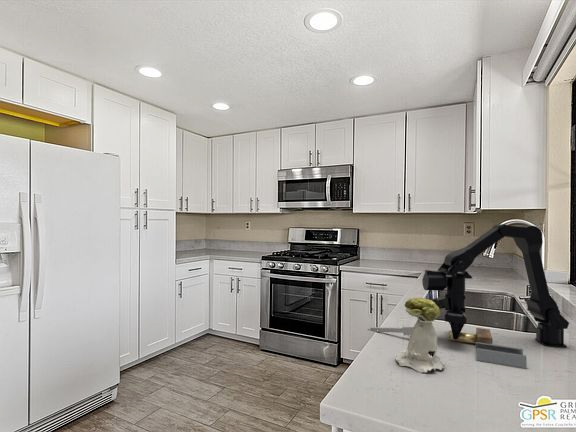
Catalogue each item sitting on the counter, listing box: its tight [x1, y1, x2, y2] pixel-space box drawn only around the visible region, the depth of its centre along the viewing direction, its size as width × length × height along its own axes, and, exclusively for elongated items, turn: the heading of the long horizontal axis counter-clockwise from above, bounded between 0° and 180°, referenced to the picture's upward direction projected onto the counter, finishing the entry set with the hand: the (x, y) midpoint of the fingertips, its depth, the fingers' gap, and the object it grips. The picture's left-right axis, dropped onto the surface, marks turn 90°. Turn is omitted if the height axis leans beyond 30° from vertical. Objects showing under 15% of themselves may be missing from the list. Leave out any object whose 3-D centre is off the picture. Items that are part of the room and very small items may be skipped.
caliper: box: [367, 326, 414, 336], centre depth 120 cm, size 20×1×6 cm, turn 50°
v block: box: [475, 342, 528, 369], centre depth 100 cm, size 12×7×3 cm, turn 64°
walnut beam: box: [475, 327, 494, 344], centre depth 112 cm, size 4×10×4 cm, turn 154°
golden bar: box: [448, 330, 477, 345], centre depth 114 cm, size 10×3×3 cm, turn 64°
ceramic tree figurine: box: [395, 297, 446, 374], centre depth 97 cm, size 12×13×18 cm
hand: (455, 337), depth 116 cm, fingers closed on golden bar, 3 cm apart
